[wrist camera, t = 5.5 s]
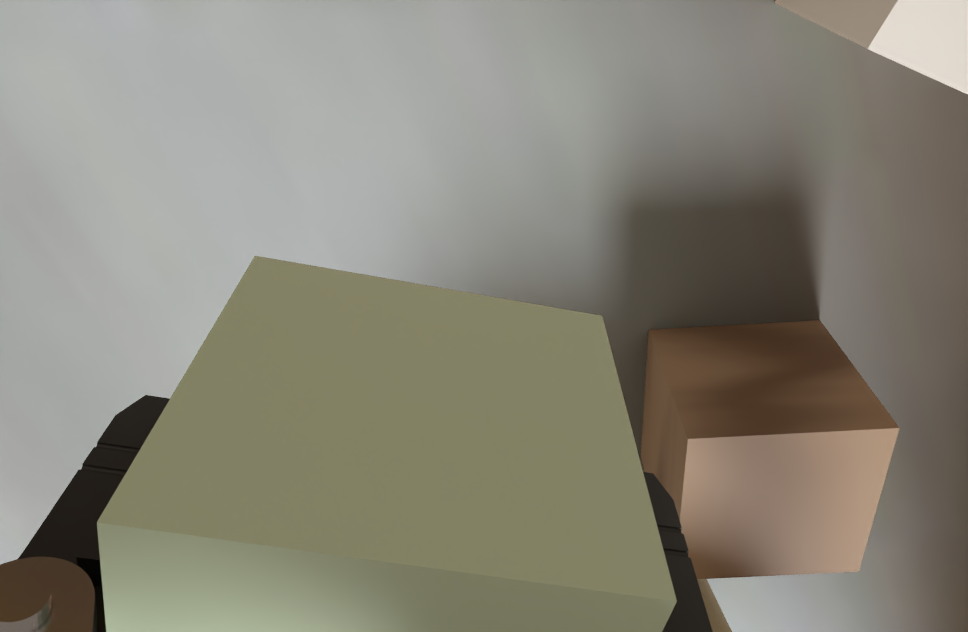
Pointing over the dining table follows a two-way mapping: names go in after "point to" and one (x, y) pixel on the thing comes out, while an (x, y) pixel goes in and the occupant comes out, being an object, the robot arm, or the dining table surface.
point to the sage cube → (387, 471)
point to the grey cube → (900, 31)
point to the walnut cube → (765, 447)
